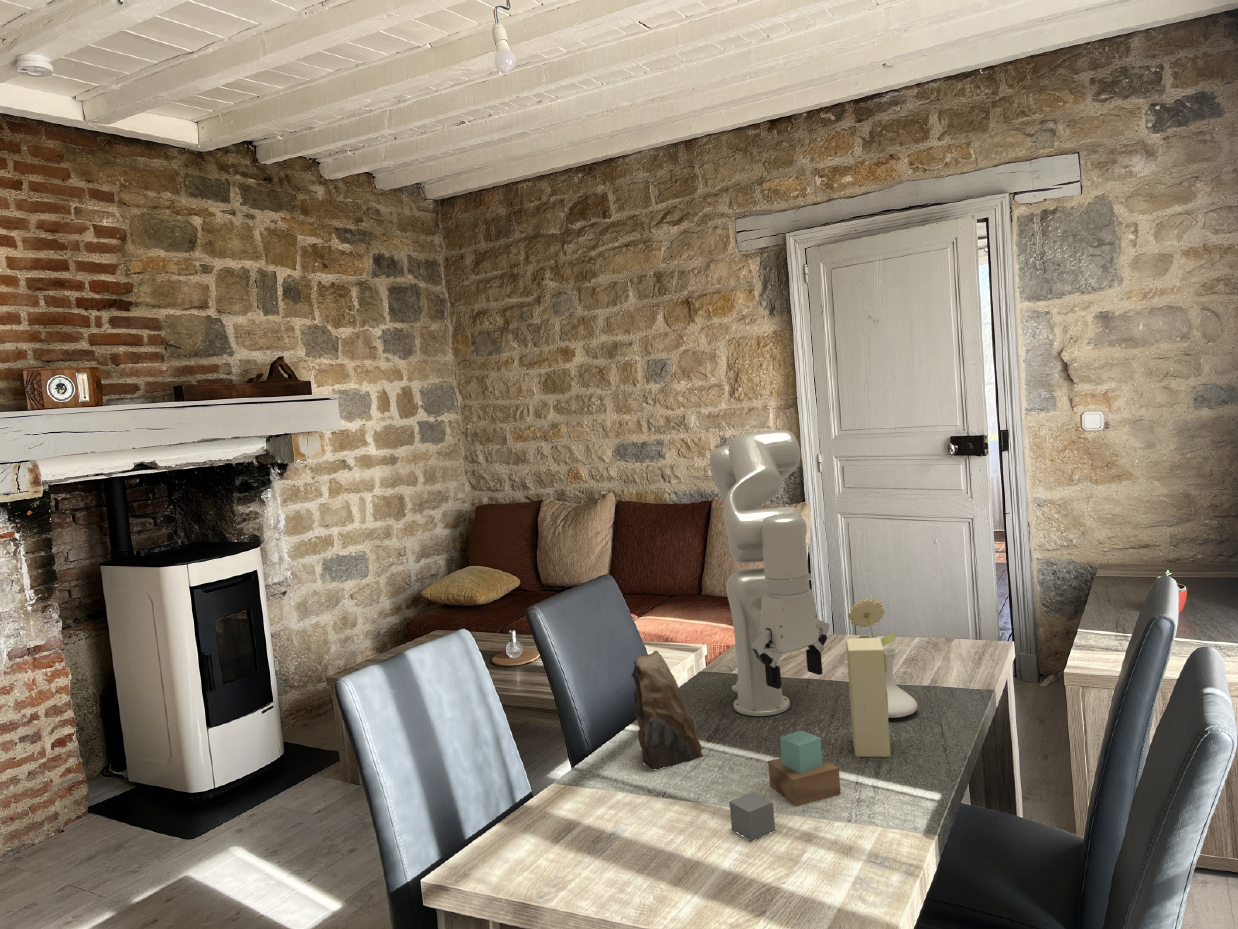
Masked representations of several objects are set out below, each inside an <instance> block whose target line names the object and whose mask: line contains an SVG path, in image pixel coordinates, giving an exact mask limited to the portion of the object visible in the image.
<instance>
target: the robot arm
mask: <svg viewBox="0 0 1238 929" xmlns="http://www.w3.org/2000/svg"><path fill="white" fill-rule="evenodd" d="M709 456H710V457H709V467H710V473H711V477H712V480H713V482H714V484H715V486H716V488H717V490H718V492H719V495H720V496H721V500H722V502H723V509H722V513H723V522H724V525H725V529H726V535H727V545H728V550H729V554H730V557H731V558H732V560H733V561H734V562H736V563H740V564H749V563H750V564H753V563H761V562H762V563H763V567H756V568H747V569H740V570H737V571H735V572H732V573H731V574H730V575H729V576H728V578H727V579H726V583H725V584H726V595H727V600H728V603H729V607H730V608H729V609H730V613H731V617H732V624H733V625H732V626H733V633H734V646H735V656H736V668H737V679H738V680H737V681H736V683H735V684H733V685H732V686H731V690H732V691H733V692H736V693H737V698H736V699H735V700H734V701H733V710H735V711H736V712H737V713H739V714H741V715H746V716H751V717H768V716H774V715H775V716H776V715H779V714H782V713H784V712H786V711H787V710H789V708H790V706H791V703H790V702H791V701H790V698H788V697H787V696H785V695H784V694H783V690H782V677H781V666H780V665H781V664H780V659H781V657H782V655H783V654H788V653H791V652H794V651H797V650H800V649H803V648H808V649H806V650H805V651H806V652H805V653H806V654H805V655H806V656H805V657H806V668H807V669H806V670H807V671H808V672H809V673H812V674H814V675H818V676H821V675H823V662H822V661H823V660H822V653H823V652H824V649H825V647H824V646H825V644H826V642H827V640H828V636H827V635H828V633H829V630H830V624H829V623H828V622H825V621H822V620H820V619H818V618H819V616H818V611H817V604H816V601H815V597H814V593H813V591H812V589H811V588H810V581H811V580H812V574H811V573H809V564H808V563H809V562H808V552H807V541H806V537H807V529H808V527H807V526H808V525H807V520H806V517H805V515H804V514H802V512H801V510H799V509H798V508H796V507H793V506H782V507H772V508H771V507H770V508H763V505H764V504H766V503H768V502H769V501H771V500H772V499H773V498H775V497H776V496H777V495H778V493H779V492H780V491H781V490H780V489H781V485H782V479H785V478H787V477H789V476H790V475H791V474H792V473H794V472H795V471H796V469H797V468H798V467H799V465H800V462H801V461H800V460H801V447H800V444H799V441H798V439H797V437H796V436H795V435H794V433H792V432H791V431H789V430H788V429H787V430H786V429H777V430H768V431H767V430H766V431H756V432H747V433H743V434H740V435H738V436H736V437H735V438H733V439H732V441H731V442H730V444H729V445H724V446H720V447H717V448H715V449H714V450H713V451H712V452H711V454H710V455H709Z"/></svg>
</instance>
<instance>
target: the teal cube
mask: <svg viewBox="0 0 1238 929" xmlns="http://www.w3.org/2000/svg"><path fill="white" fill-rule="evenodd" d="M779 739H780V740H779V742H780V753H781V754H780V755H781V758H782V765H784V766H786V767H788V768H790V769H792V770H794V771H796V772H798V773H801V774H802V773H805V772H807V771H810V770H813V769H815V768H818V767H821V766H823V762H822V758H823V753H822V738H821V737H819V736H816V735H814V734H812V733H809V732H807V731H804V730H802V729H801V730H797V731H795V732H792V733H790V734H787V735H783V736H782V737H780V738H779Z"/></svg>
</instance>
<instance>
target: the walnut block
mask: <svg viewBox="0 0 1238 929" xmlns="http://www.w3.org/2000/svg"><path fill="white" fill-rule="evenodd" d="M822 762H823V766H821V767H818V768H815V769H813V770H810V771H807V772H805V773H802V774H801V773H798V772H796V771H794V770H792V769H790V768H788V767H786V766H784V765H782V757H780V758H776V759H771V760H767V766H768V775H769V776H768V777H769V779H768V780H769V786H770V788H771V789H773V790H774V791H775V790H776V791H775V792H776V793H778V794H779V795H780V794H781V795H780V796H782V798H784V797H785V798H786V799H785V798H784V799H785V800H786V801H788V802H789V801H790V802H789V803H790V804H792V805H793V806H794V807H799V806H802V805H801V804H803V805H806V804H810V802H811V803H814V802H818V801H821V800H825V799H829V798H832V797H837V796H840V795H841V794H842V793H841V791H842V790H841V780H840V769H839V767H838V766H836V765H834V764H833V763H832V762H830V761H828V760H827V759H825V758H824V757H822ZM798 805H799V806H798Z"/></svg>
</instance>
